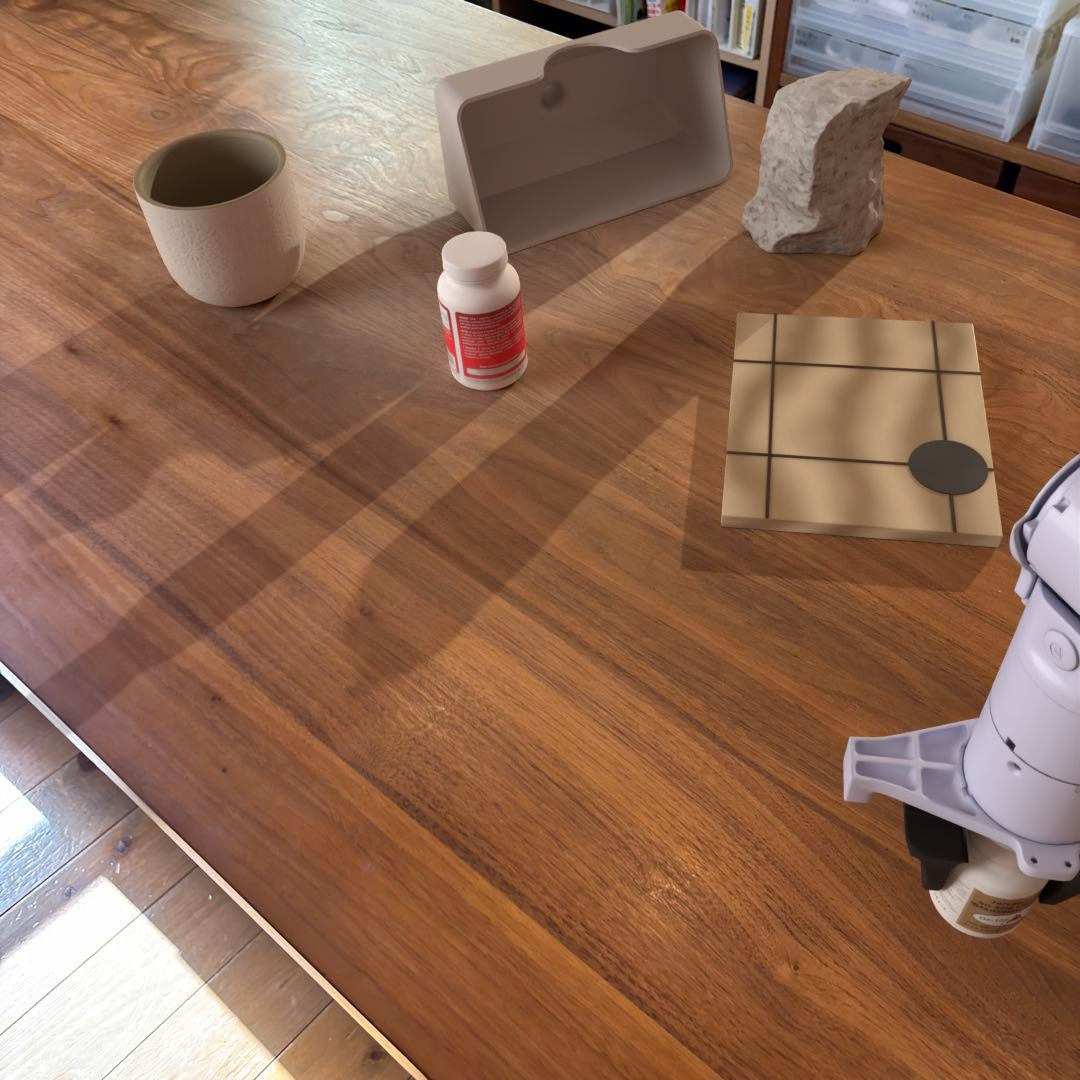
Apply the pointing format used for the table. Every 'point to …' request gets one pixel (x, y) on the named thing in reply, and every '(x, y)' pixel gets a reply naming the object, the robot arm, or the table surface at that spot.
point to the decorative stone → (824, 163)
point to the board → (859, 431)
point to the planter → (224, 215)
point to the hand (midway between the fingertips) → (985, 876)
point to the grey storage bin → (585, 130)
